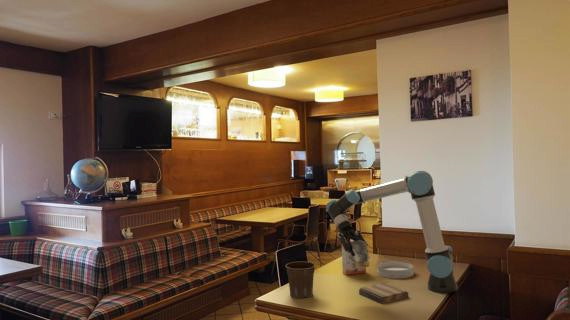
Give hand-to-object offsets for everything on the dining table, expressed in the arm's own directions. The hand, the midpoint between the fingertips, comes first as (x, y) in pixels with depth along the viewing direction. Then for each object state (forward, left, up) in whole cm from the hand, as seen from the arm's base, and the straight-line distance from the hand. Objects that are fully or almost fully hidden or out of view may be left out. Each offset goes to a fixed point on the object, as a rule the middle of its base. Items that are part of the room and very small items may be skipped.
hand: (363, 259), depth 203 cm
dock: (-12, 0, -20) cm, 23 cm away
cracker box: (-25, -43, -21) cm, 54 cm away
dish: (-45, -28, -21) cm, 57 cm away
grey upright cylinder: (0, -4, -4) cm, 5 cm away
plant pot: (+23, -25, -21) cm, 40 cm away
